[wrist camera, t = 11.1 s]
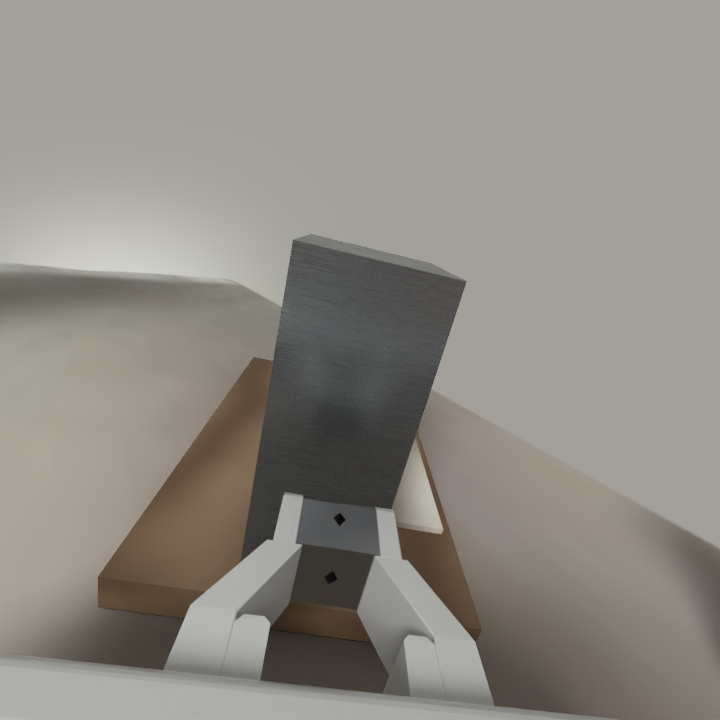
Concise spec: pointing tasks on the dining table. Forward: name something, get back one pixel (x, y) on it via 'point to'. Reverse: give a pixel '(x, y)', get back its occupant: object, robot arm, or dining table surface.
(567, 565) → the dining table surface
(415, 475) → the gauge bench
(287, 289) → the brushed steel block
